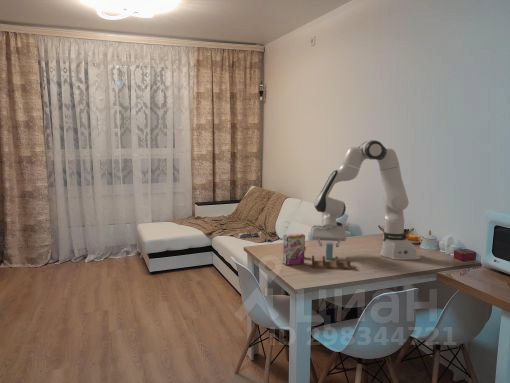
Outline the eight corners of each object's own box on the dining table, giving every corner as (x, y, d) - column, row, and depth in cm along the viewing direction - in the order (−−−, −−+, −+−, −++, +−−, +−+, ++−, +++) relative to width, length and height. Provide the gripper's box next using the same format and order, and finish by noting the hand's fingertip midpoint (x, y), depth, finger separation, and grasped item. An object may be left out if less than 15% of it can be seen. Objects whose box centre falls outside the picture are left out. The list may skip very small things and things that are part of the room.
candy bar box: (286, 266, 223) (287, 236, 221) (282, 263, 228) (283, 234, 225) (304, 263, 227) (305, 234, 225) (300, 261, 232) (301, 232, 230)
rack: (348, 264, 228) (348, 256, 227) (350, 269, 218) (350, 262, 217) (311, 262, 230) (312, 255, 229) (311, 267, 220) (312, 260, 220)
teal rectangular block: (331, 257, 239) (332, 242, 238) (332, 259, 235) (332, 244, 234) (325, 257, 240) (326, 242, 239) (326, 259, 236) (326, 244, 235)
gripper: (311, 222, 245) (310, 242, 236) (346, 224, 242) (347, 244, 234) (311, 228, 250) (310, 248, 241) (345, 229, 247) (346, 249, 239)
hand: (328, 246), depth 237 cm, fingers open, 8 cm apart
